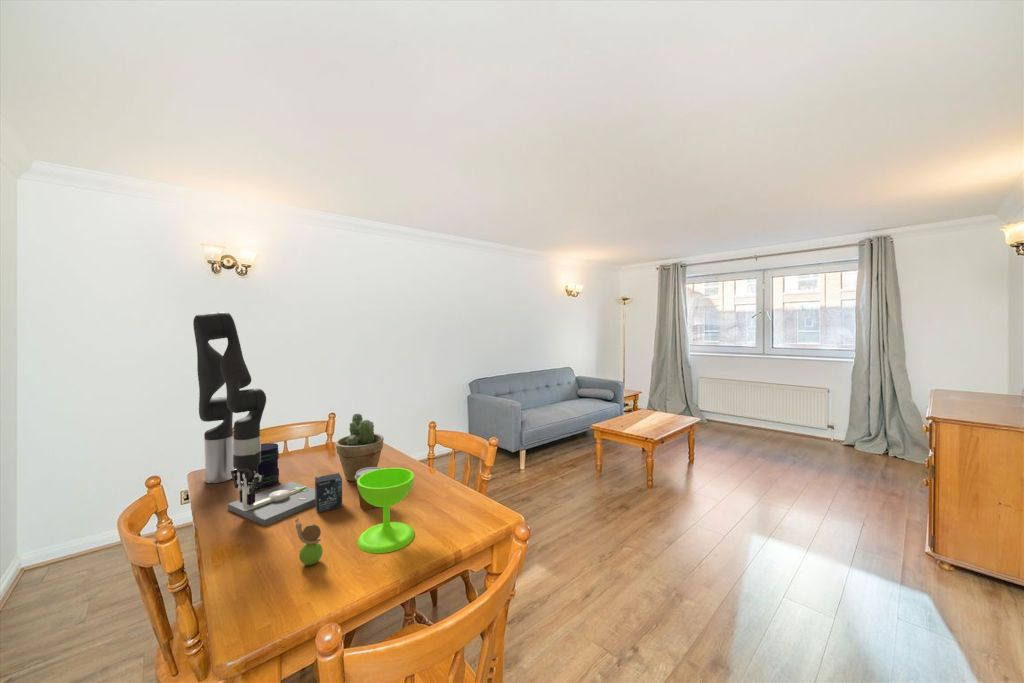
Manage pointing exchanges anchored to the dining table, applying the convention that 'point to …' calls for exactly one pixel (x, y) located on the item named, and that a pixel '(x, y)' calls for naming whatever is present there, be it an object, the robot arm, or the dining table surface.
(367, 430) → the potted plant
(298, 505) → the dial board
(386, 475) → the wineglass
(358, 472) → the disposable coffee cup
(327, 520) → the dining table surface
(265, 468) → the storage jar
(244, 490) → the tuning crank
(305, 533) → the snail figurine
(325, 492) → the box
